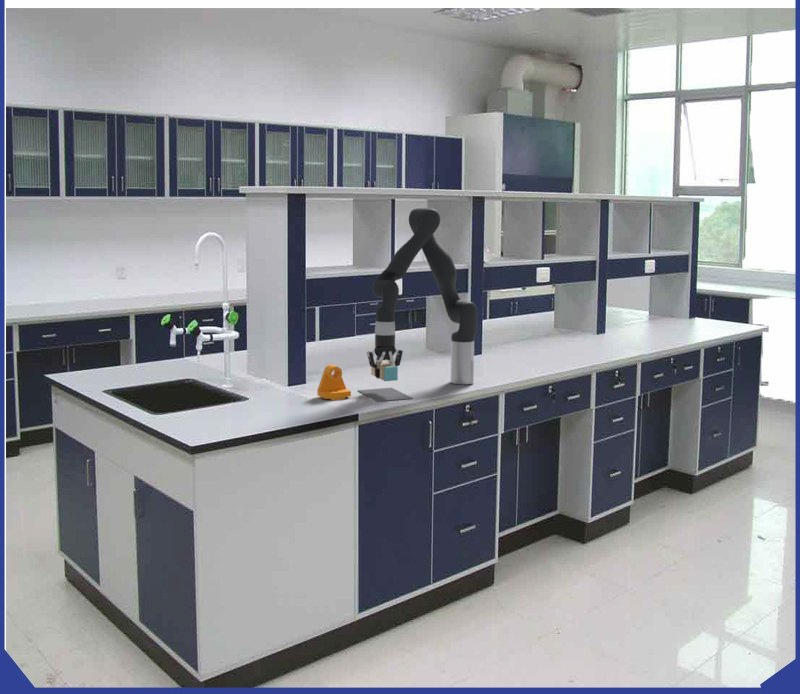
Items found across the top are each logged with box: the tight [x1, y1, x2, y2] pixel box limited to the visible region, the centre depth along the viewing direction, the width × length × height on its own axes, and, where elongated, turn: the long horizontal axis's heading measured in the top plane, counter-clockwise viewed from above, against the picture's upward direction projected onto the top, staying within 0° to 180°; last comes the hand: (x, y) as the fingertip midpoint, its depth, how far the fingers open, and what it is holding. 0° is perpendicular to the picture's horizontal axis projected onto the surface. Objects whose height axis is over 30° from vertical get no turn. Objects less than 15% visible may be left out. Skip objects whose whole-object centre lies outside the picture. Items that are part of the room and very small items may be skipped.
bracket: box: [316, 364, 352, 401], centre depth 323 cm, size 11×7×12 cm, turn 117°
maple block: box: [370, 360, 399, 382], centre depth 327 cm, size 5×5×14 cm
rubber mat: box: [357, 387, 413, 403], centre depth 328 cm, size 20×14×1 cm
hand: (384, 377), depth 327 cm, fingers closed on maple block, 5 cm apart
